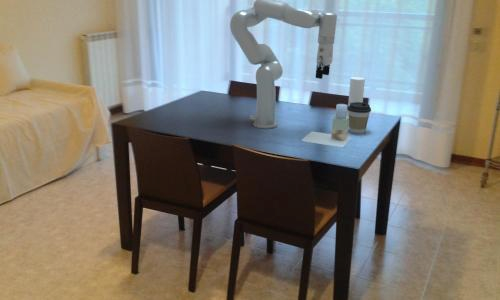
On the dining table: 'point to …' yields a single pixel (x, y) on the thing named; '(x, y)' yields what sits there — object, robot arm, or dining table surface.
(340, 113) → the pale white cylinder
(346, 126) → the top block
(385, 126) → the dining table surface
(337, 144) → the white rectangular slab
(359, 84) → the cylindrical container
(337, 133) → the bottom block
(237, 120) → the dining table surface
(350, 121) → the coffee cup
